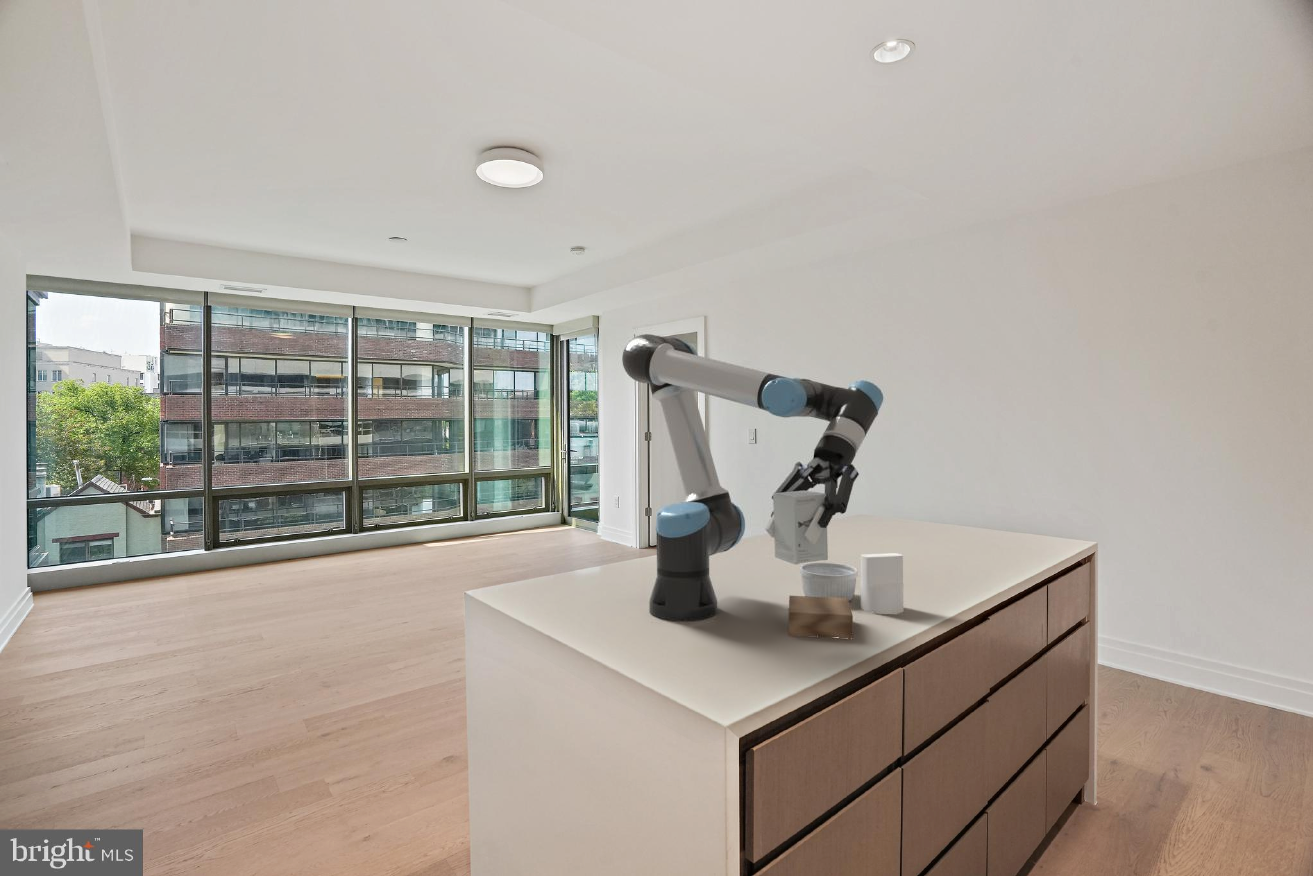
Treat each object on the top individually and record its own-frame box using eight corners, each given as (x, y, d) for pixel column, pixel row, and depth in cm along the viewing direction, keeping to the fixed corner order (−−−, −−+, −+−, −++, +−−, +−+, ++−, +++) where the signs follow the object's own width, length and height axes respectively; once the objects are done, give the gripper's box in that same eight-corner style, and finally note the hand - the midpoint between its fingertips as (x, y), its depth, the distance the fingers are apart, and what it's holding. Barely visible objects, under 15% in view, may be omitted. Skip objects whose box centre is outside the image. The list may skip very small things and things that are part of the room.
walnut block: (788, 637, 126) (788, 612, 126) (789, 618, 138) (789, 595, 138) (852, 641, 124) (852, 615, 123) (847, 621, 135) (847, 598, 135)
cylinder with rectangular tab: (872, 615, 138) (872, 560, 138) (853, 604, 147) (853, 551, 147) (911, 613, 140) (911, 558, 139) (890, 602, 149) (890, 550, 148)
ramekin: (864, 605, 146) (864, 574, 146) (806, 605, 147) (806, 575, 147) (848, 590, 160) (848, 562, 159) (795, 590, 160) (795, 562, 160)
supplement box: (796, 565, 117) (793, 496, 117) (774, 557, 124) (771, 492, 124) (829, 560, 120) (827, 493, 120) (806, 553, 127) (804, 489, 126)
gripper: (895, 459, 123) (847, 557, 113) (804, 456, 139) (756, 541, 130) (878, 433, 119) (827, 531, 110) (787, 433, 136) (737, 518, 127)
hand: (789, 536), depth 120 cm, fingers closed on supplement box, 9 cm apart
